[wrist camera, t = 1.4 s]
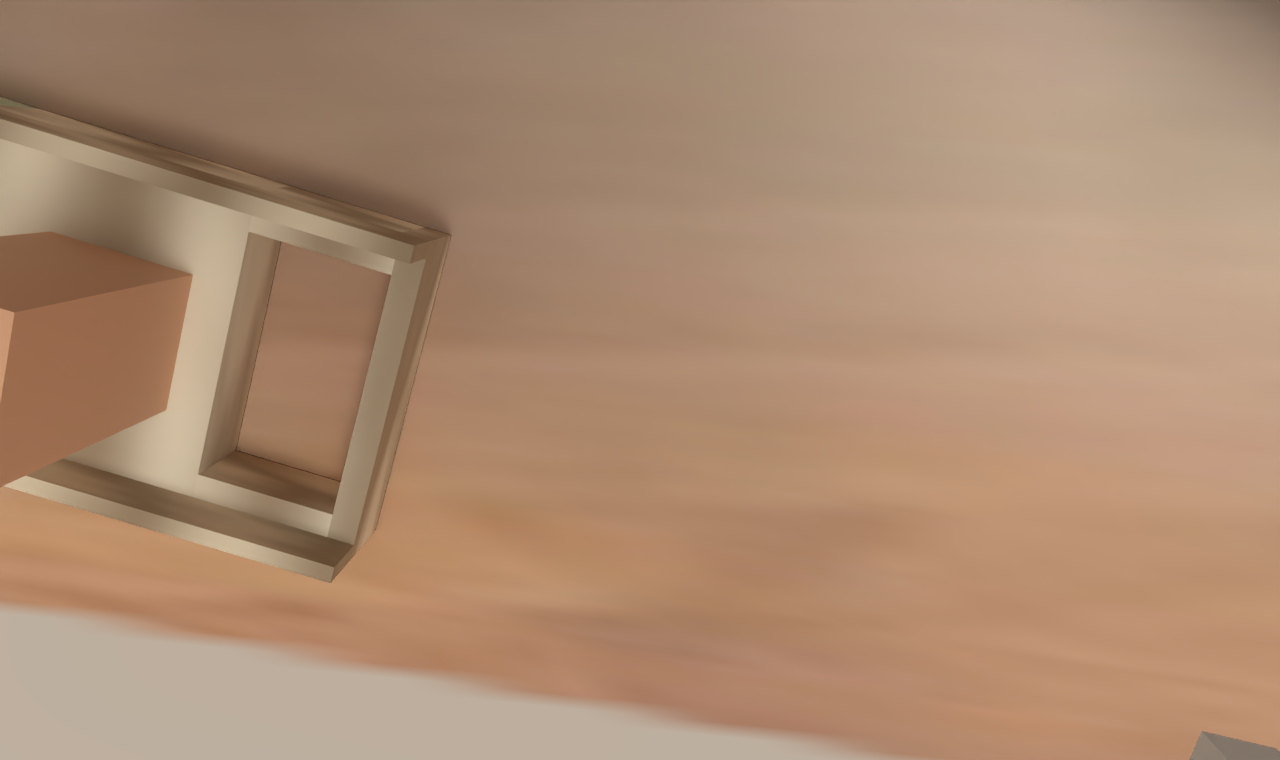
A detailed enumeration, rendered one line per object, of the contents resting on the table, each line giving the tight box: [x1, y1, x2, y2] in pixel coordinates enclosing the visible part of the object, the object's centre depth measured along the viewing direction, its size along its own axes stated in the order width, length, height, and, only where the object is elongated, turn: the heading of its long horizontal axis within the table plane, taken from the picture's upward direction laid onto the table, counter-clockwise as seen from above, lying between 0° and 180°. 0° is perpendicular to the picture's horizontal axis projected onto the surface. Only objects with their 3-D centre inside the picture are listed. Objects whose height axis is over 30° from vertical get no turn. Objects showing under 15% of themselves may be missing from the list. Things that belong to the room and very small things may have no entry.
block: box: [0, 231, 193, 487], centre depth 29 cm, size 5×5×9 cm
